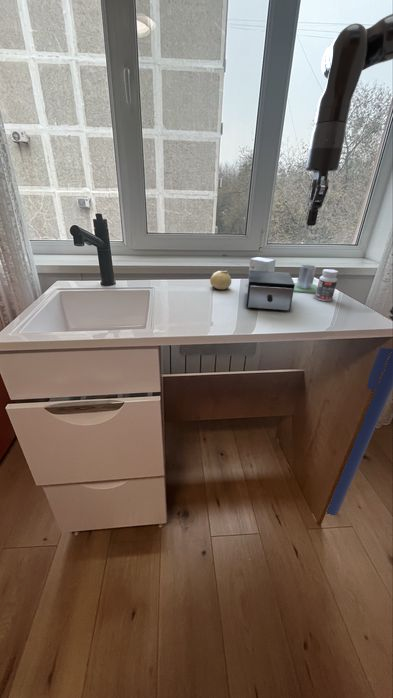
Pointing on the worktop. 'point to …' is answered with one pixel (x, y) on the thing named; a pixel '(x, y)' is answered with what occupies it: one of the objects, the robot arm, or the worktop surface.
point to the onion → (220, 280)
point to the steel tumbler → (306, 276)
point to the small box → (262, 264)
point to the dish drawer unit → (269, 282)
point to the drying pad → (312, 290)
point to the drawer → (270, 297)
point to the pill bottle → (326, 285)
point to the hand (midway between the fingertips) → (310, 225)
